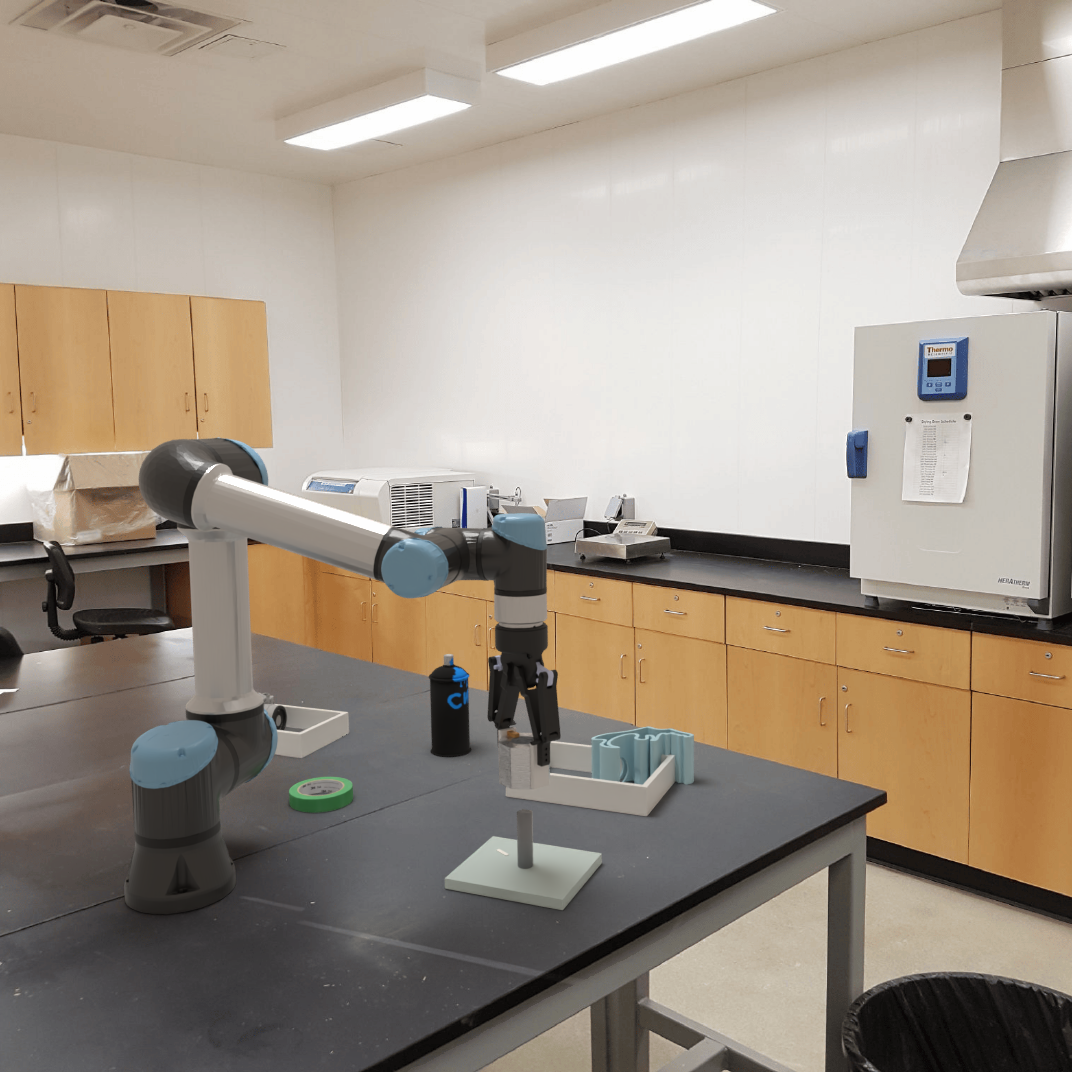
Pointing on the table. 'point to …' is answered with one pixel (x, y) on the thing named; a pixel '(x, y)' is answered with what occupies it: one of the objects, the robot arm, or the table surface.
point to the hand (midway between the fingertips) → (523, 778)
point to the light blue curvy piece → (642, 754)
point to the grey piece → (515, 760)
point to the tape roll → (311, 803)
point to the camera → (274, 711)
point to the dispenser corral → (598, 784)
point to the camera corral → (310, 730)
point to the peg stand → (525, 869)
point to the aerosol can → (449, 710)
